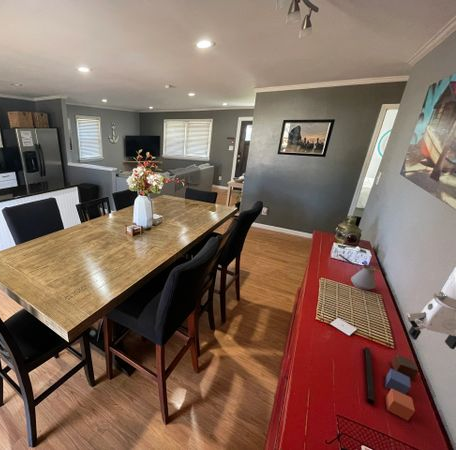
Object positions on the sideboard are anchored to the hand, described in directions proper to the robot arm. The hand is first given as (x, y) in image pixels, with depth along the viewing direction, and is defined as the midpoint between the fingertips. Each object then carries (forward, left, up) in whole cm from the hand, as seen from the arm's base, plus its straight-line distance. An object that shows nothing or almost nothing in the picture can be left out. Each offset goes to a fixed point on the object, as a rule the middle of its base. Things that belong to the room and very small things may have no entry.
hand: (430, 341), depth 81 cm
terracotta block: (+4, +17, -19) cm, 26 cm away
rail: (+11, +7, -19) cm, 23 cm away
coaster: (+19, -16, -19) cm, 32 cm away
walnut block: (+1, -3, -19) cm, 19 cm away
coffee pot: (+16, -63, -19) cm, 68 cm away
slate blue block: (+4, +7, -19) cm, 21 cm away
